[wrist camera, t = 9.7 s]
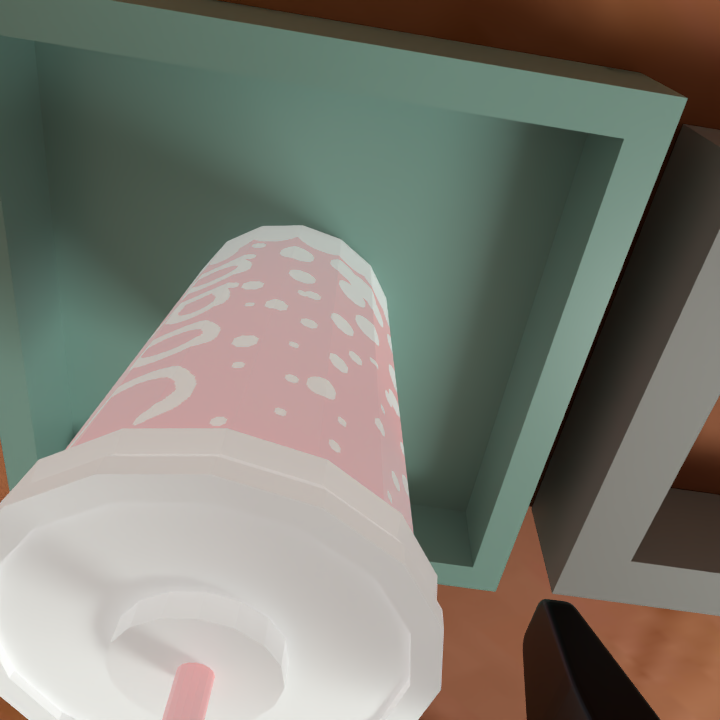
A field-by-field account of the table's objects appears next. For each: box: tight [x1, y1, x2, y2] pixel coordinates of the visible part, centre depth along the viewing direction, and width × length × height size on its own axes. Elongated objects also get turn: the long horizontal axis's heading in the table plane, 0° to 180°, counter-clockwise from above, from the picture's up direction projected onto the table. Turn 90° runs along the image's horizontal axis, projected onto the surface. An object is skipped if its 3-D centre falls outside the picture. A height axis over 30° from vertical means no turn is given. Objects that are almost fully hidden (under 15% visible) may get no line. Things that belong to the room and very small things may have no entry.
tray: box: [0, 0, 688, 592], centre depth 15 cm, size 13×13×2 cm
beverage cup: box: [0, 225, 444, 720], centre depth 10 cm, size 6×6×14 cm
